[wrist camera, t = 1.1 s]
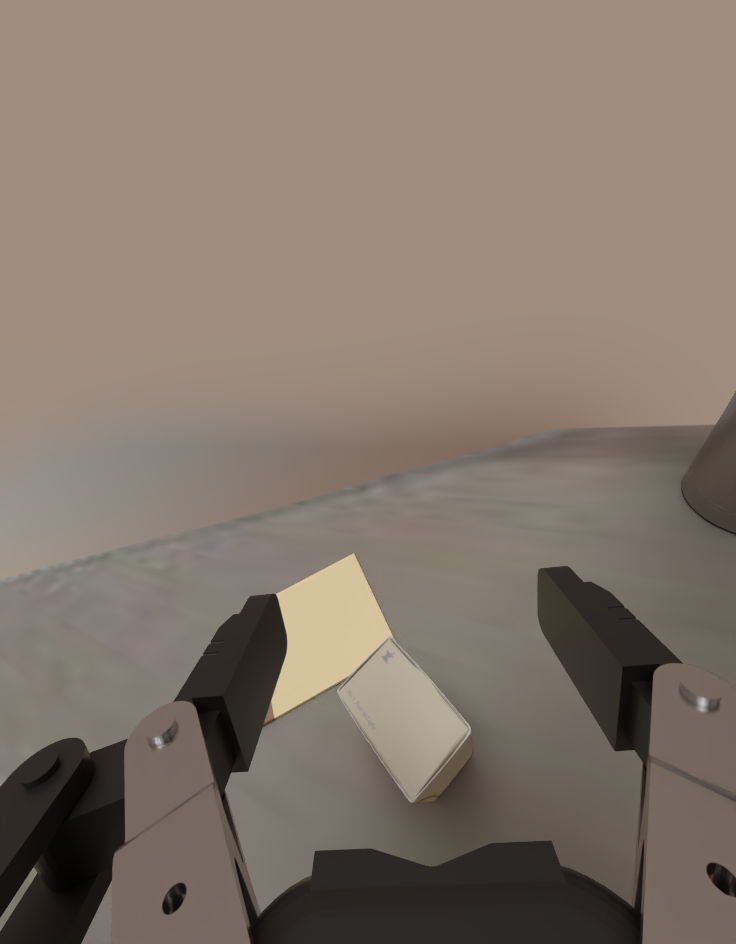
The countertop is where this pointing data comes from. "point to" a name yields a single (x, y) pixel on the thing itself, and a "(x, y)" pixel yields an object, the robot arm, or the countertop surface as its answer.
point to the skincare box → (407, 722)
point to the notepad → (325, 633)
